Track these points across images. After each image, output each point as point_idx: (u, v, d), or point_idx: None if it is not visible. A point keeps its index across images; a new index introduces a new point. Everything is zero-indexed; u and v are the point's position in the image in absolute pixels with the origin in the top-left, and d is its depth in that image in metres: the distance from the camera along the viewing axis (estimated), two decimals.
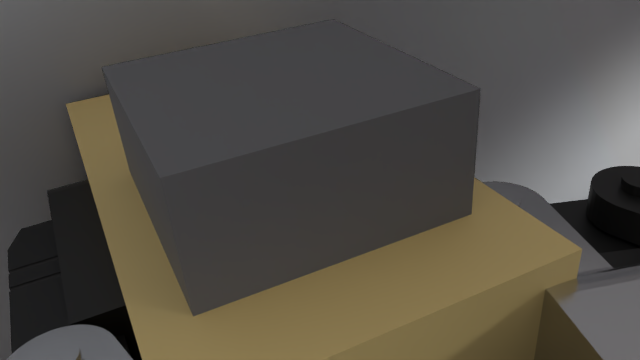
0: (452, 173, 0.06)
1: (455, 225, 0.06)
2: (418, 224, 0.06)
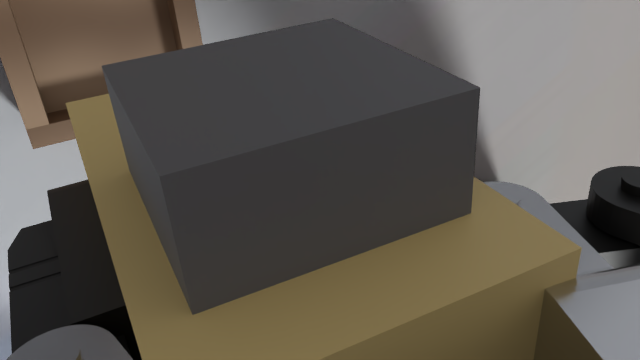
0: (452, 172, 0.06)
1: (455, 224, 0.06)
2: (418, 223, 0.06)
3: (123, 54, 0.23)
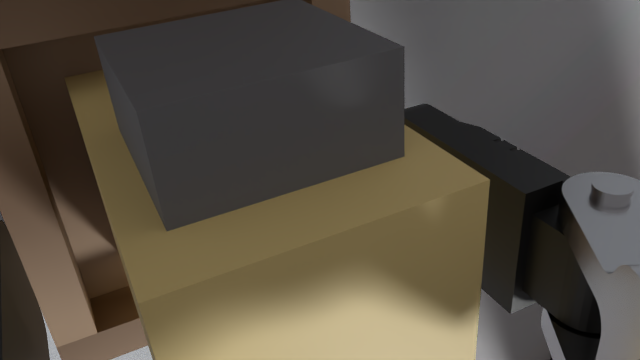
0: (384, 119, 0.07)
1: (389, 164, 0.07)
2: (357, 162, 0.07)
3: None
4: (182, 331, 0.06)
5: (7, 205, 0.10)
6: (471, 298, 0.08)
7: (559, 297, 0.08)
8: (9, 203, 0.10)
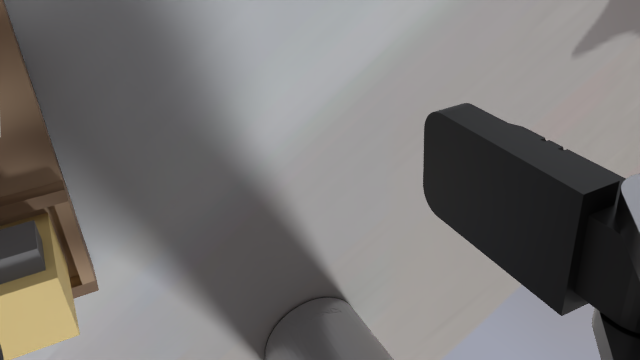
0: (37, 263, 0.30)
1: (40, 272, 0.31)
2: (31, 272, 0.30)
3: None
4: None
5: None
6: (64, 304, 0.31)
7: (611, 295, 0.08)
8: None
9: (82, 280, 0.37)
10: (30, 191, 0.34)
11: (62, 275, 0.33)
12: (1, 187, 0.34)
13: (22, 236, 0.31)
